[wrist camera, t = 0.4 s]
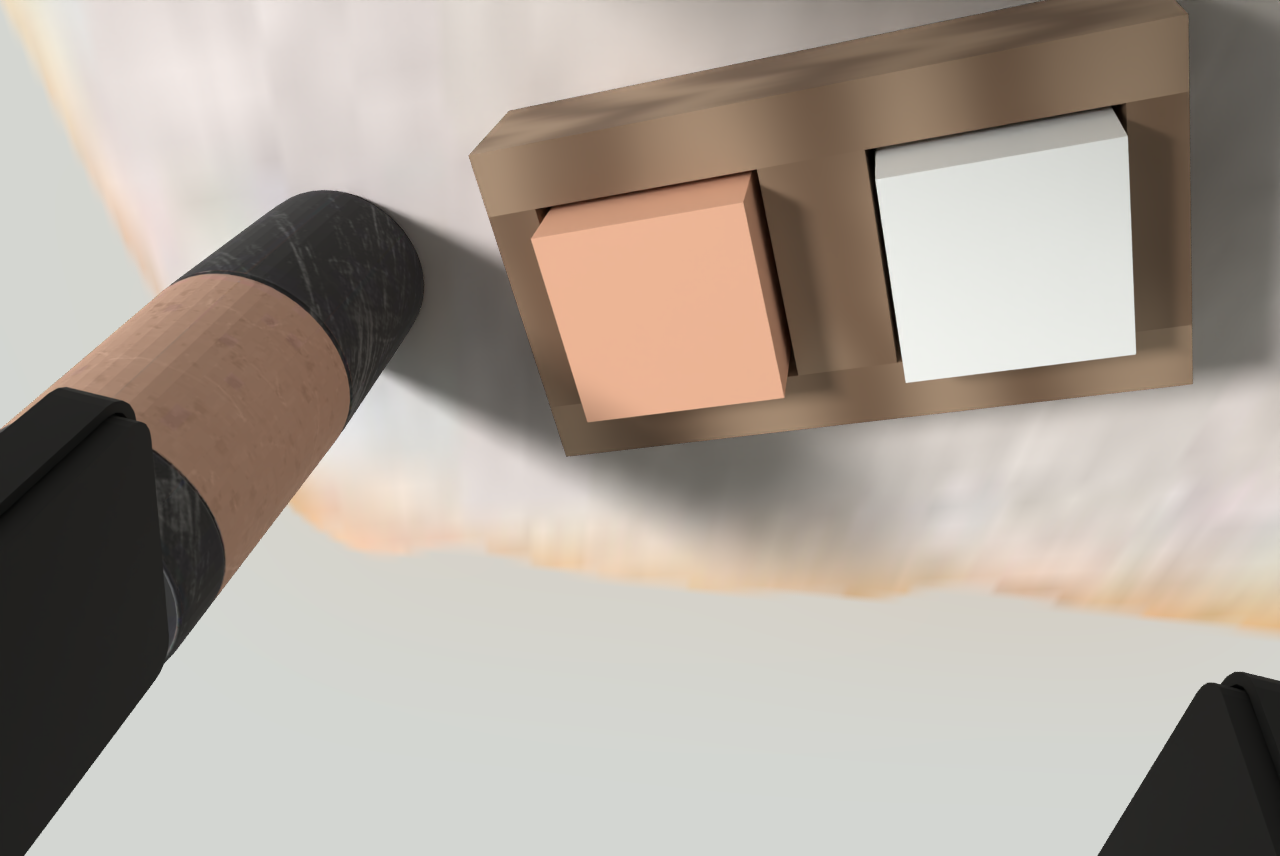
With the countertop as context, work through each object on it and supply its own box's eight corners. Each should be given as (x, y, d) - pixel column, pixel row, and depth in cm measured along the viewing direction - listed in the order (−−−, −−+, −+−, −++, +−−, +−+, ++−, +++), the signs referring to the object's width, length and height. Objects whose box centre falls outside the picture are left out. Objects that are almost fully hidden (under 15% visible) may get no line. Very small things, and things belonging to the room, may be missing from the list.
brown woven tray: (593, 391, 48) (566, 456, 44) (509, 110, 43) (468, 155, 38) (1162, 316, 42) (1192, 384, 38) (1153, -22, 36) (1188, 13, 32)
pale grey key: (903, 314, 42) (905, 382, 38) (876, 127, 38) (875, 179, 34) (1109, 286, 40) (1135, 354, 36) (1099, 86, 37) (1127, 135, 32)
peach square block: (614, 355, 45) (587, 422, 41) (566, 184, 42) (530, 238, 37) (793, 329, 43) (784, 398, 39) (758, 149, 40) (743, 202, 35)
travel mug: (295, 144, 45) (-54, 408, 28) (463, 254, 46) (225, 570, 29) (227, 287, 49) (-113, 592, 32) (384, 385, 50) (135, 728, 33)
